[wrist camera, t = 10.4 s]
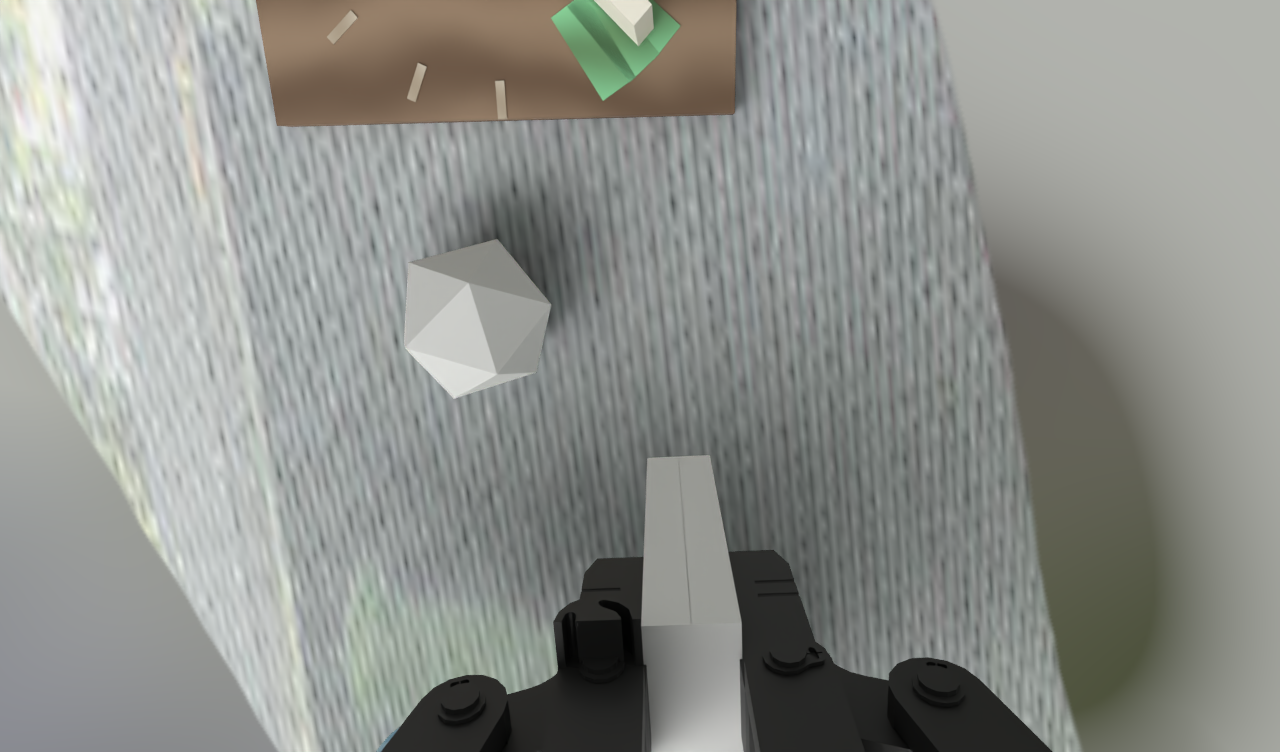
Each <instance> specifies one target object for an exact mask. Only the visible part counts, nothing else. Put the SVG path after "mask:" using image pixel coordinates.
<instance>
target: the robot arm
mask: <svg viewBox="0 0 1280 752" xmlns="http://www.w3.org/2000/svg"><path fill="white" fill-rule="evenodd" d="M553 624H554V633H555V643H556V652H557V662H558V672H557V674H556V675H555V676H554V677H552V678H551V679H549V680H547V681H546V682H544V683H542V684H540V685H537V686H535V687H532V688H529V689H526V690H522V691H519V692H515V693H511V694H508V695H507V693H506V689H505V687H504V686H503V685H502V684H501V683H500V682H499V681H498V680H497V679H494V678H491V677H487V676H484V675H465V676H461V677H458V678H454V679H450V680H448V681H446V682H444V683H442V684H440V685H438V686H437V687H435V688H433V689H432V690H431V691H430V692H429V693H428V694H427V695H426V696H425V697H424V698H423V699H421V701H420V702H419V703H418V705H417V706H416V707H415V708H414V710H413V711H412V712H411V714H410V715H409V716H408V717H407V719H406V720H405V721H404V723H403V724H402V725H401V726H400V727H399V728H398V729H396V730H395V731H394V732H393V733H391V734H390V735H389V736H388V737H387V739H386V740H385V741H384V742H383V743H382V744H381V746H380V747H379V748H378V750H377V751H376V752H1052V751H1051V750H1050V749H1049V748H1048V747H1047V746H1046V745H1045V744H1044V743H1043V742H1042V741H1041V740H1040V739H1039V738H1038V737H1037V736H1036V735H1035V734H1034V733H1033V732H1032V731H1031V730H1030V729H1029V728H1028V727H1027V726H1026V725H1025V724H1024V723H1023V722H1022V721H1021V720H1020V719H1019V718H1018V717H1017V716H1016V715H1015V714H1014V713H1013V712H1012V711H1011V710H1010V709H1009V708H1008V707H1007V706H1006V705H1005V704H1004V703H1003V702H1002V701H1001V700H1000V699H999V698H998V697H997V696H996V695H995V694H994V693H993V692H992V691H991V690H990V689H989V688H988V687H986V686H985V685H984V684H983V683H982V682H981V681H980V680H979V679H978V678H977V677H975V676H974V675H973V674H971V673H970V672H969V671H967V670H966V669H965V668H962V667H960V666H957V665H955V664H953V663H950V662H948V661H944V660H939V659H933V658H912V659H908V660H906V661H903V662H901V663H898V664H897V665H896V666H895V667H894V668H893V669H892V671H891V672H890V673H889V681H888V680H883V679H878V678H873V677H867V676H863V675H859V674H856V673H852V672H849V671H847V670H845V669H843V668H840V667H838V666H837V665H835V664H834V663H833V661H832V658H831V657H830V655H829V654H828V652H827V651H826V649H825V648H824V647H822V646H821V645H819V644H818V643H816V642H815V639H814V637H813V634H812V631H811V628H810V625H809V622H808V619H807V616H806V613H805V610H804V607H803V604H802V601H801V599H800V596H799V594H798V590H797V587H796V584H795V582H794V578H793V575H792V572H791V569H790V566H789V563H787V562H786V561H785V560H784V559H783V558H782V557H781V556H780V555H778V554H777V553H776V552H775V551H774V550H761V551H735V552H728V548H727V543H726V538H725V533H724V527H723V522H722V517H721V512H720V506H719V501H718V496H717V491H716V485H715V480H714V475H713V470H712V464H711V459H710V455H700V456H678V457H655V458H647V478H646V506H645V534H644V557H629V558H603V559H597V560H596V561H595V562H594V563H593V564H592V565H591V567H590V568H589V569H588V570H587V571H586V572H585V574H584V580H583V585H582V592H581V596H580V600H577V601H575V602H572V603H570V604H568V605H567V606H566V607H565V608H563V609H562V610H561V611H559V613H558V614H557V616H556V618H555V620H554V622H553Z"/></svg>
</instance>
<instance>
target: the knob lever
mask: <svg viewBox="0 0 1280 752" xmlns="http://www.w3.org/2000/svg"><path fill="white" fill-rule="evenodd" d="M594 1H595V2H596V3H597V4H598V5H599V6H600V7H601V8H602V9H603V10H604V11H605V12H606V13H607V14H608V15H609V16H610V18H611V19H612V20H613V21H614V22H615V23H616V24H617V25H618V26H619V27H620V28H621V29H622V30H623V31H624V32H625V33H626V34H627V35H628V36H629V37H630V38H631V39H632V40H633V41H634V42H635V43H636V44H637V45H638V46H639V45H640V44H641V43H642V42H643V40H644V39H645V38H646V37H647V36H648V35H649V33H650V32H651V31H652V30H653V29H654V24H653V12H652V4H651V3H650V2H649V1H648V0H594Z"/></svg>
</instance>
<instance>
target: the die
mask: <svg viewBox="0 0 1280 752" xmlns="http://www.w3.org/2000/svg"><path fill="white" fill-rule="evenodd" d="M550 309H551V304H550V302H549V301H548V300H547V299H546V297H545V296H544V295H543V294H542V293H541V291H540V290H539V289H538V288H537V287H536V285H535V284H534V283H533V282H532V280H531V279H530V278H529V277H528V276H527V274H526V273H525V272H524V271H523V270H522V268H521V267H520V266H519V265H518V264H517V262H516V261H515V260H514V259H513V257H512V256H511V255H510V254H509V253H508V251H507V250H506V249H505V248H504V247H503V245H502V244H501V243H500V242H499V240H498V239H495V240H491V241H488V242H484V243H480V244H476V245H472V246H469V247H465V248H461V249H457V250H454V251H450V252H446V253H442V254H438V255H435V256H431V257H427V258H423V259H420V260H416V261H412V262H409V264H408V281H407V298H406V315H405V332H404V340H405V349H406V350H407V351H408V352H409V353H410V354H411V355H412V356H413V357H414V358H415V359H416V360H417V361H418V362H419V363H420V364H421V365H422V366H423V367H424V368H425V369H426V370H427V371H428V372H429V373H430V374H431V375H432V376H433V377H434V378H435V380H436V381H437V382H438V383H439V384H440V385H441V386H442V387H443V388H444V389H445V390H446V391H447V392H448V393H449V394H450V395H451V396H452V397H453V398H454V399H455V398H458V397H461V396H464V395H468V394H471V393H474V392H477V391H480V390H483V389H486V388H490V387H493V386H496V385H499V384H502V383H505V382H508V381H512V380H515V379H518V378H521V377H524V376H527V375H530V374H534V373H537V369H538V364H539V359H540V355H541V350H542V346H543V341H544V336H545V332H546V327H547V323H548V318H549V313H550Z"/></svg>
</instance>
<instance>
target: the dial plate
mask: <svg viewBox="0 0 1280 752" xmlns="http://www.w3.org/2000/svg"><path fill="white" fill-rule="evenodd" d="M648 1H649V2H650V3H651V4H652V12H653V24H654V29H653V30H652V31H651V32H650V33H649V35H648V36H647V37H646V38H645V39H644V40H643V42H642V43H641V44H640V45H639V46H638V45H637V44H636V43H635V42H634V41H633V40H632V39H631V38H630V37H629V36H628V35H627V34H626V33H625V32H624V31H623V30H622V29H621V28H620V27H619V26H618V25H617V24H616V23H615V22H614V21H613V20H612V19H611V18H610V16H609V15H608V14H607V13H606V12H605V11H604V10H603V9H602V8H601V7H600V6H599V5H598V4H597V3H596V2H595V1H594V0H256V3H257V9H258V15H259V21H260V27H261V33H262V39H263V45H264V51H265V57H266V63H267V69H268V75H269V81H270V87H271V93H272V99H273V105H274V111H275V117H276V123H277V126H288V127H298V126H335V125H371V124H408V123H444V122H481V121H517V120H554V119H590V118H627V117H663V116H700V115H732V114H734V113H735V57H736V0H648Z"/></svg>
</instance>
